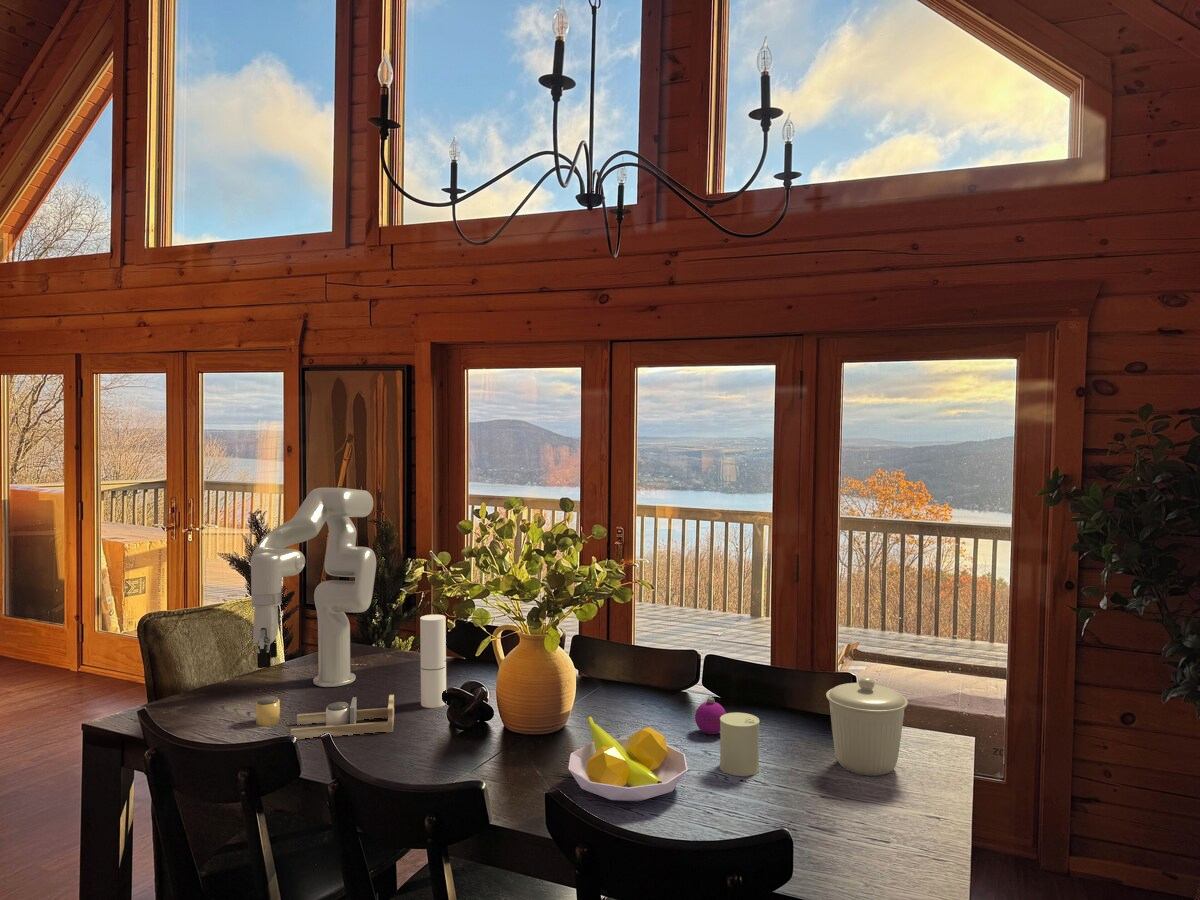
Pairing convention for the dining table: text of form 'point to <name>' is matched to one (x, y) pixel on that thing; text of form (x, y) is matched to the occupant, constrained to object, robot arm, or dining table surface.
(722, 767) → the can
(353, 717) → the pusher
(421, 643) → the cylindrical container
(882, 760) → the canister
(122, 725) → the dining table surface
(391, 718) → the lane
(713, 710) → the christmas ornament
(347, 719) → the cream jar
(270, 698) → the amber jar
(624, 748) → the fruit bowl
